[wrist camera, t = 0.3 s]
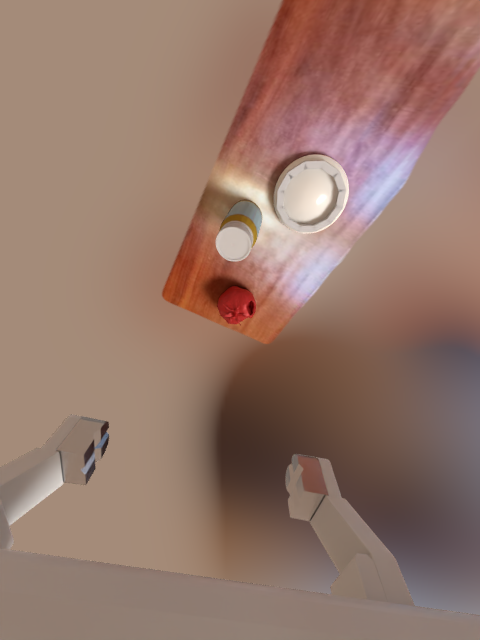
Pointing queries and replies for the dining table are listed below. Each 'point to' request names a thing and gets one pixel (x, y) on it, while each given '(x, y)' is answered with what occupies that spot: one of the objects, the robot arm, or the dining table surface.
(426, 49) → the dining table surface
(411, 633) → the robot arm
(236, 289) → the pomegranate
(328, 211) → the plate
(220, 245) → the bottle
